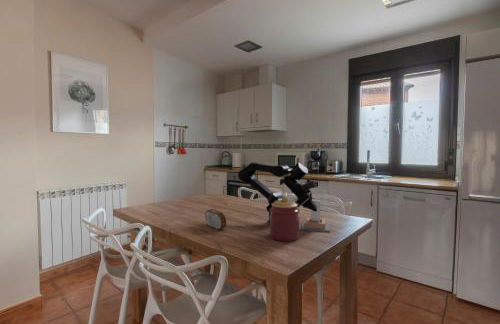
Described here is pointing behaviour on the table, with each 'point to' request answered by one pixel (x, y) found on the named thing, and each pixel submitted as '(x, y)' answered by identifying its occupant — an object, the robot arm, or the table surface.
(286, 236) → the canister
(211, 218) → the tin
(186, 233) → the table surface
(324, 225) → the pocket board
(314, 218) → the steel square bar
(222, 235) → the table surface
